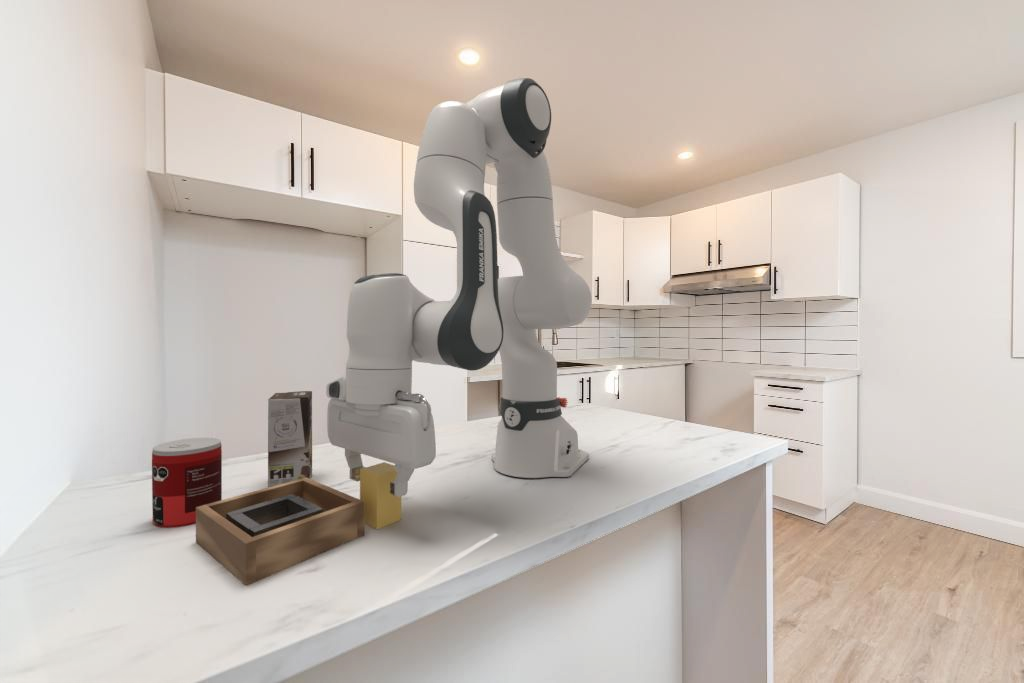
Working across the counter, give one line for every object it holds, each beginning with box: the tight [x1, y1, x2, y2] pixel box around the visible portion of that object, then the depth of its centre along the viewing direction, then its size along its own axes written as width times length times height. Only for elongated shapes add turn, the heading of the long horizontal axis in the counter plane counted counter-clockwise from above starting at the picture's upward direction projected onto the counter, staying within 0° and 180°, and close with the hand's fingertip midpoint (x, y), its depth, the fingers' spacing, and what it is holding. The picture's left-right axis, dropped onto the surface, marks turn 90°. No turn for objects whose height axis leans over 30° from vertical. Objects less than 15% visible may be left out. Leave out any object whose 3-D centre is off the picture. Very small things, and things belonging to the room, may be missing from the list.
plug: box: [359, 461, 402, 530], centre depth 59 cm, size 4×4×8 cm
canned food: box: [151, 437, 223, 529], centre depth 60 cm, size 8×8×11 cm
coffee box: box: [267, 390, 313, 488], centre depth 75 cm, size 9×6×16 cm
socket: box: [226, 494, 323, 537], centre depth 53 cm, size 8×8×4 cm
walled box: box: [195, 477, 365, 587], centre depth 54 cm, size 14×15×5 cm
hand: (377, 487), depth 59 cm, fingers open, 8 cm apart
